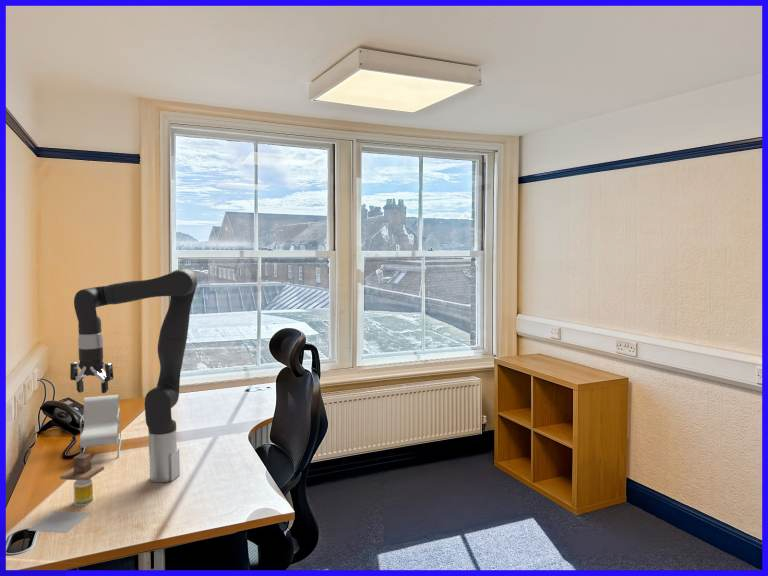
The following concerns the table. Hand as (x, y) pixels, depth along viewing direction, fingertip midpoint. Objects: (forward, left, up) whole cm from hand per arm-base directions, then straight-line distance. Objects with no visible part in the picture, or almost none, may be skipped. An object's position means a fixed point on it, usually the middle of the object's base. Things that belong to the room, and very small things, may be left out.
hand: (92, 392), depth 202 cm
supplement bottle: (-6, +16, -32) cm, 36 cm away
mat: (-7, +29, -32) cm, 44 cm away
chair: (+16, -29, -32) cm, 46 cm away
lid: (-6, +16, -22) cm, 28 cm away
